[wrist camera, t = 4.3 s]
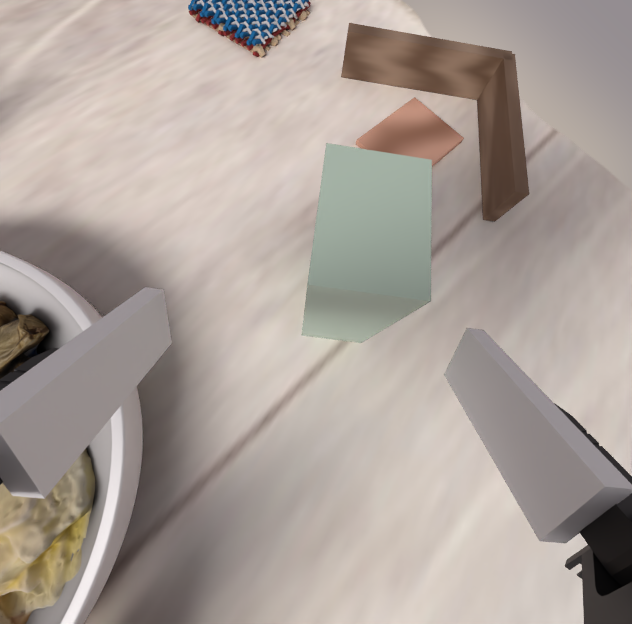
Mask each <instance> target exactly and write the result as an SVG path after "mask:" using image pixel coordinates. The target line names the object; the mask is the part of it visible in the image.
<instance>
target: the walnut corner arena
mask: <svg viewBox="0 0 632 624" xmlns="http://www.w3.org/2000/svg"><path fill="white" fill-rule="evenodd" d="M341 77H344V78H350V79H356V80H362V81H368V82H374V83H380V84H386V85H392V86H398V87H404V88H410V89H416V90H422V91H428V92H434V93H440V94H446V95H452V96H458V97H464V98H469V99H475V100H477V105H478V125H479V145H480V166H481V186H482V206H483V220H488V221H496V220H497V219H499V218H500V217H501V216H502V215H504V214H505V213H506V212H507V211H509V210H510V209H511V208H512V207H514V206H515V205H516V204H517V203H519V202H520V201H521V200H522V199H524V198H525V197H526V196H527V195H529V187H528V177H527V168H526V158H525V148H524V139H523V129H522V119H521V110H520V100H519V90H518V81H517V71H516V62H515V54H512V51H506V50H500V49H495V48H489V47H483V46H477V45H472V44H466V43H460V42H455V41H449V40H443V39H437V38H432V37H427V36H421V35H415V34H410V33H404V32H398V31H392V30H387V29H381V28H375V27H370V26H364V25H358V24H353V23H349V28H348V34H347V41H346V48H345V55H344V61H343V68H342V76H341ZM463 139H464V138H463V137H462V136H461V135H459V134H458V133H457V132H456V131H455V130H453V129H452V128H451V127H450V126H449V125H447V124H446V123H445V122H444V121H443V120H441V119H440V118H439V117H438V116H437V115H435V114H434V113H433V112H432V111H431V110H429V109H428V108H427V107H426V106H425V105H423V104H422V103H421V102H420V101H418V100H417V99H416V98H415V97H414V98H413V99H412V100H410V101H409V102H408V103H406V104H405V105H404V106H402V107H401V108H399V109H398V110H397V111H395V112H394V113H393V114H391V115H390V116H389V117H387V118H386V119H384V120H383V121H382V122H380V123H379V124H378V125H376V126H375V127H374V128H372V129H371V130H369V131H368V132H367V133H365V134H364V135H363V136H361V137H360V138H359V139H357V141H356V145H358V146H359V147H360V148H361V149H367V150H373V151H379V152H386V153H392V154H398V155H405V156H411V157H417V158H424V159H430V160H432V166H433V165H435V164H436V163H437V162H438V161H439V160H441V159H442V158H443V157H444V156H445V155H447V154H448V153H449V152H450V151H451V150H453V149H454V148H455V147H456V146H457V145H458V144H460V143H461V142H462V140H463Z"/></svg>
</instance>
